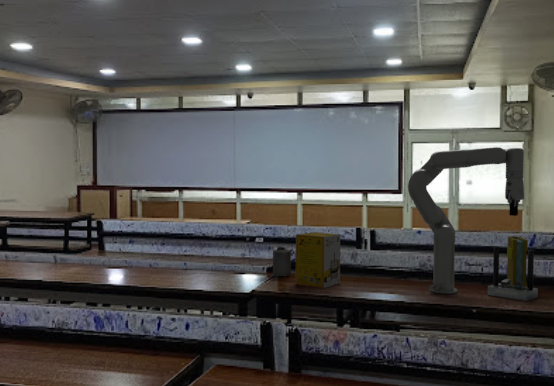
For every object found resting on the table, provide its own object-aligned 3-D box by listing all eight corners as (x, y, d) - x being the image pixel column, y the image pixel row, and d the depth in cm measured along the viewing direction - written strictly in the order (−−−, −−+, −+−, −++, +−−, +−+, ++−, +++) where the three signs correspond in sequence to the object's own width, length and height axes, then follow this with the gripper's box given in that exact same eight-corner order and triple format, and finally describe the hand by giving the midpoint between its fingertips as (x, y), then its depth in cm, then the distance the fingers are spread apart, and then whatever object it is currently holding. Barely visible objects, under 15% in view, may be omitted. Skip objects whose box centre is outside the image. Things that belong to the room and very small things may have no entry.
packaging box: (312, 279, 308) (313, 232, 307) (339, 283, 299) (340, 234, 298) (295, 284, 295) (295, 234, 294) (323, 288, 286) (324, 236, 285)
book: (526, 293, 277) (527, 240, 277) (511, 292, 279) (512, 239, 278) (519, 286, 294) (520, 236, 293) (505, 286, 295) (506, 236, 294)
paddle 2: (519, 285, 265) (520, 281, 266) (514, 284, 267) (514, 281, 267) (523, 286, 268) (524, 282, 269) (518, 285, 270) (518, 281, 270)
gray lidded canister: (284, 273, 326) (284, 246, 326) (294, 276, 318) (294, 248, 318) (269, 275, 321) (269, 248, 321) (279, 278, 313) (278, 249, 313)
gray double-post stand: (526, 301, 259) (527, 251, 259) (487, 294, 272) (487, 247, 272) (538, 297, 268) (539, 249, 267) (498, 291, 281) (499, 245, 280)
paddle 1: (506, 285, 270) (506, 282, 269) (501, 285, 272) (501, 281, 271) (510, 282, 273) (510, 279, 272) (505, 282, 274) (505, 278, 274)
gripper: (515, 175, 261) (514, 216, 261) (529, 175, 271) (528, 215, 272) (499, 175, 266) (498, 215, 267) (513, 175, 277) (512, 214, 277)
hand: (513, 215), depth 269 cm, fingers closed
